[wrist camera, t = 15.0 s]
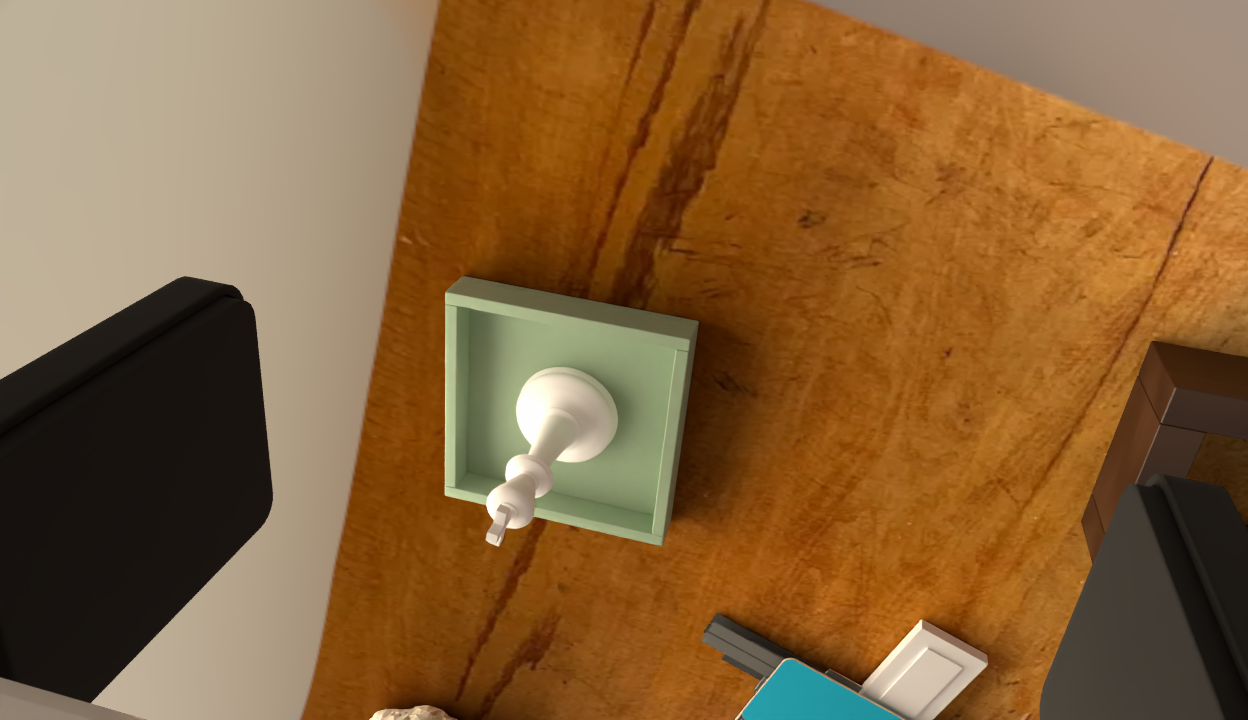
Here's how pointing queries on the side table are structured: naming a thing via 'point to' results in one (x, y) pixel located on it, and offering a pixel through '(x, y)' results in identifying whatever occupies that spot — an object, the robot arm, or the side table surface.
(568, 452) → the chess piece
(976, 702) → the side table surface
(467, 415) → the tray
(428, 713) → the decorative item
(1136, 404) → the frame
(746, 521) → the side table surface
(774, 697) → the phone stand
